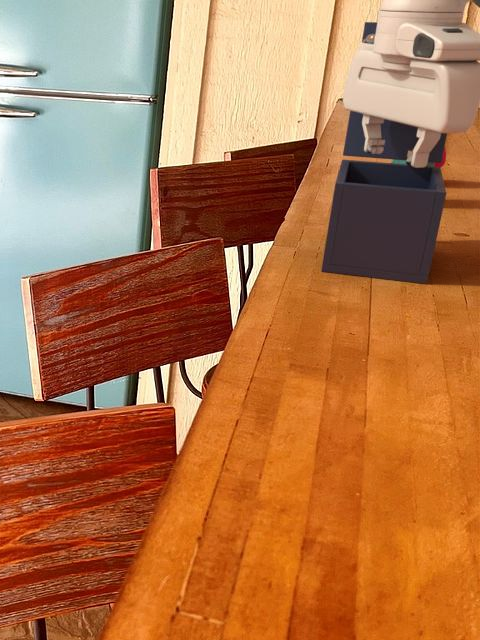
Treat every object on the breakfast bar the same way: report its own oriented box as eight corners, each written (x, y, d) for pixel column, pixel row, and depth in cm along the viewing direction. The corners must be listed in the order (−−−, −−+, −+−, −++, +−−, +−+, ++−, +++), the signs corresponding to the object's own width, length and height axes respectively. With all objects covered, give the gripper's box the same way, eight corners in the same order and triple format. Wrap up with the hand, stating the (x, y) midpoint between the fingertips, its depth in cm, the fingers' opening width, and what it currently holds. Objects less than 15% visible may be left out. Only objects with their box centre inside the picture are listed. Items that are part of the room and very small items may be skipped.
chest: (426, 284, 105) (446, 192, 101) (321, 271, 109) (335, 183, 105) (423, 249, 119) (440, 166, 114) (329, 239, 123) (342, 159, 118)
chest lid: (468, 24, 110) (467, 25, 110) (365, 21, 114) (365, 22, 115) (441, 163, 114) (440, 163, 115) (342, 155, 118) (342, 155, 119)
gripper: (340, 32, 110) (323, 145, 116) (451, 45, 92) (425, 178, 97) (384, 32, 111) (365, 143, 117) (503, 44, 93) (474, 175, 99)
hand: (393, 159), depth 107 cm, fingers open, 7 cm apart
